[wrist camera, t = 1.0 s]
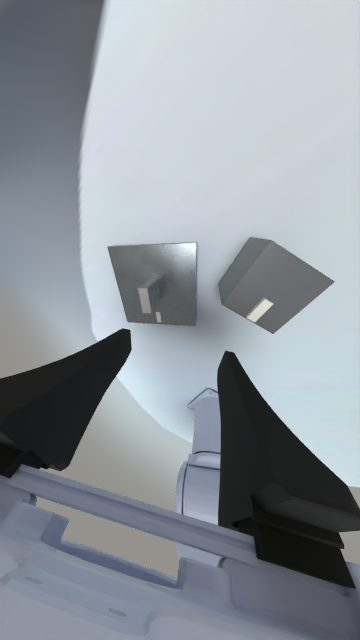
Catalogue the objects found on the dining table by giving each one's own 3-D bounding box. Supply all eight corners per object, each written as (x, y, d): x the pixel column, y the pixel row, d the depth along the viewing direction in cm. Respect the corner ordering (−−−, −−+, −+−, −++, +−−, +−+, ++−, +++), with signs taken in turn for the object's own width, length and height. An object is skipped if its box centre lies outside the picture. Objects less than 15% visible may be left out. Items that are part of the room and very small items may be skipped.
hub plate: (196, 242, 16) (192, 245, 12) (196, 322, 21) (192, 342, 17) (112, 246, 17) (85, 250, 14) (130, 318, 22) (114, 336, 19)
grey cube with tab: (293, 264, 15) (339, 283, 10) (255, 305, 18) (274, 336, 13) (250, 237, 15) (273, 240, 9) (218, 283, 17) (221, 306, 12)
